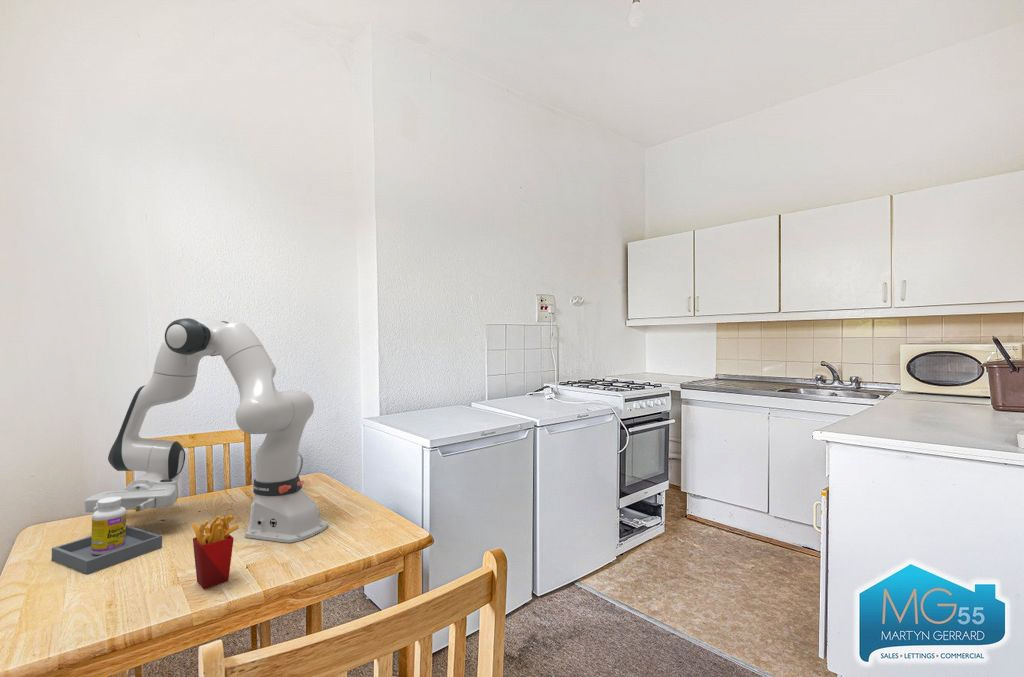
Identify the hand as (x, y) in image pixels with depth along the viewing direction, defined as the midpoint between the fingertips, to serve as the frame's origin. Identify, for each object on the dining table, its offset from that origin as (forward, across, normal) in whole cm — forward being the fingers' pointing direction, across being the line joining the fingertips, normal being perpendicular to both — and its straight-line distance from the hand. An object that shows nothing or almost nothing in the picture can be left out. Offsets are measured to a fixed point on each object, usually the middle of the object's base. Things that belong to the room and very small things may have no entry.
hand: (118, 509), depth 125 cm
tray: (+4, 0, +10) cm, 11 cm away
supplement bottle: (+4, 0, +9) cm, 10 cm away
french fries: (+27, +31, +10) cm, 42 cm away
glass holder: (-40, +34, +10) cm, 54 cm away
